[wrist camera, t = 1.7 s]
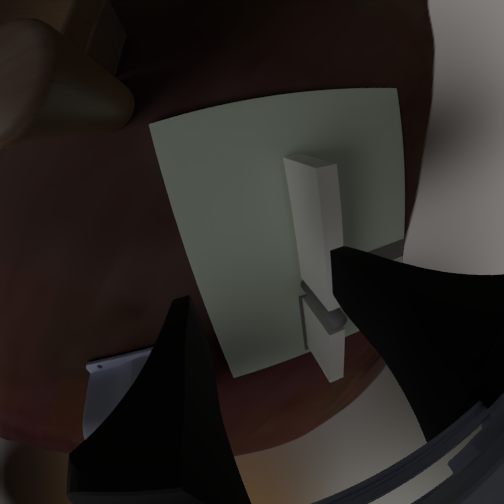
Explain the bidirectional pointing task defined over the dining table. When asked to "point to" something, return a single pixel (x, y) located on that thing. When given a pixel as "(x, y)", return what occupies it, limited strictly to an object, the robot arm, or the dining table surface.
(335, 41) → the dining table surface
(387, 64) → the dining table surface
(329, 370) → the base
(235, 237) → the board
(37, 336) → the dining table surface
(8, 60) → the wooden toy
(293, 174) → the fence panel
